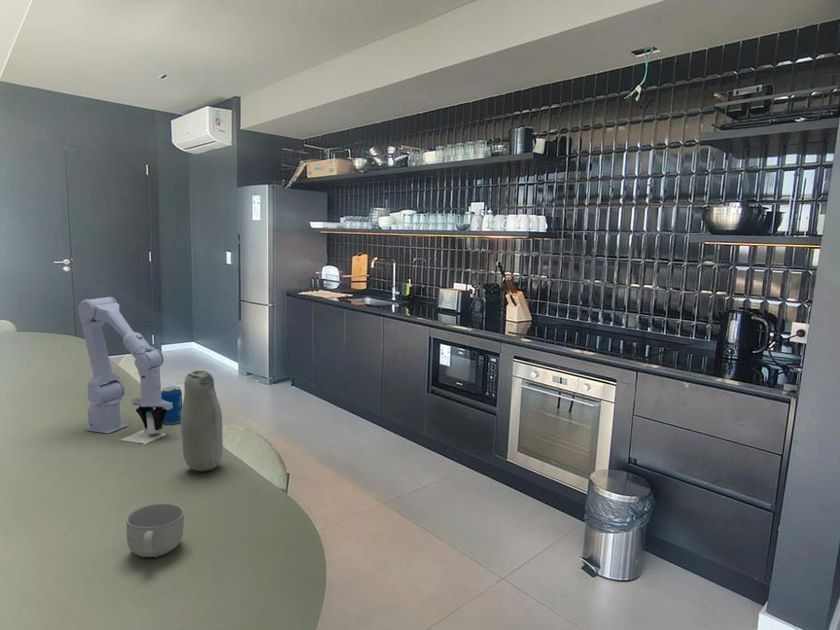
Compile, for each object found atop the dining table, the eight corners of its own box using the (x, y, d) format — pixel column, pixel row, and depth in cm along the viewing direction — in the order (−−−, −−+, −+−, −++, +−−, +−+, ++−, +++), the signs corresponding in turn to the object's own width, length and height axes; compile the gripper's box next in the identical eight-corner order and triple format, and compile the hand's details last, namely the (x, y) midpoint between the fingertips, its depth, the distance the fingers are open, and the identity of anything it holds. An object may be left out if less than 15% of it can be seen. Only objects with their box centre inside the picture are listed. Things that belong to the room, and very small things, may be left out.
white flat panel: (120, 440, 171) (120, 439, 171) (142, 431, 179) (142, 429, 179) (145, 444, 168) (145, 443, 168) (167, 434, 176) (167, 433, 176)
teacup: (141, 536, 117) (139, 501, 116) (193, 534, 118) (191, 500, 117) (110, 576, 103) (107, 537, 102) (169, 573, 104) (167, 535, 103)
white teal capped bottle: (144, 436, 174) (143, 412, 173) (153, 432, 177) (152, 408, 176) (154, 437, 173) (152, 413, 171) (162, 433, 176) (161, 410, 175)
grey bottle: (230, 464, 154) (226, 368, 150) (205, 479, 145) (200, 377, 141) (202, 459, 157) (197, 365, 153) (176, 473, 148) (170, 374, 144)
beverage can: (175, 425, 185) (173, 391, 183) (158, 424, 186) (156, 390, 184) (187, 419, 191) (185, 386, 189) (170, 418, 192) (168, 385, 191)
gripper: (122, 389, 171) (125, 430, 173) (159, 393, 167) (162, 435, 169) (140, 383, 178) (142, 423, 180) (176, 387, 173) (178, 428, 175)
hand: (153, 428), depth 175 cm, fingers closed on white teal capped bottle, 3 cm apart
